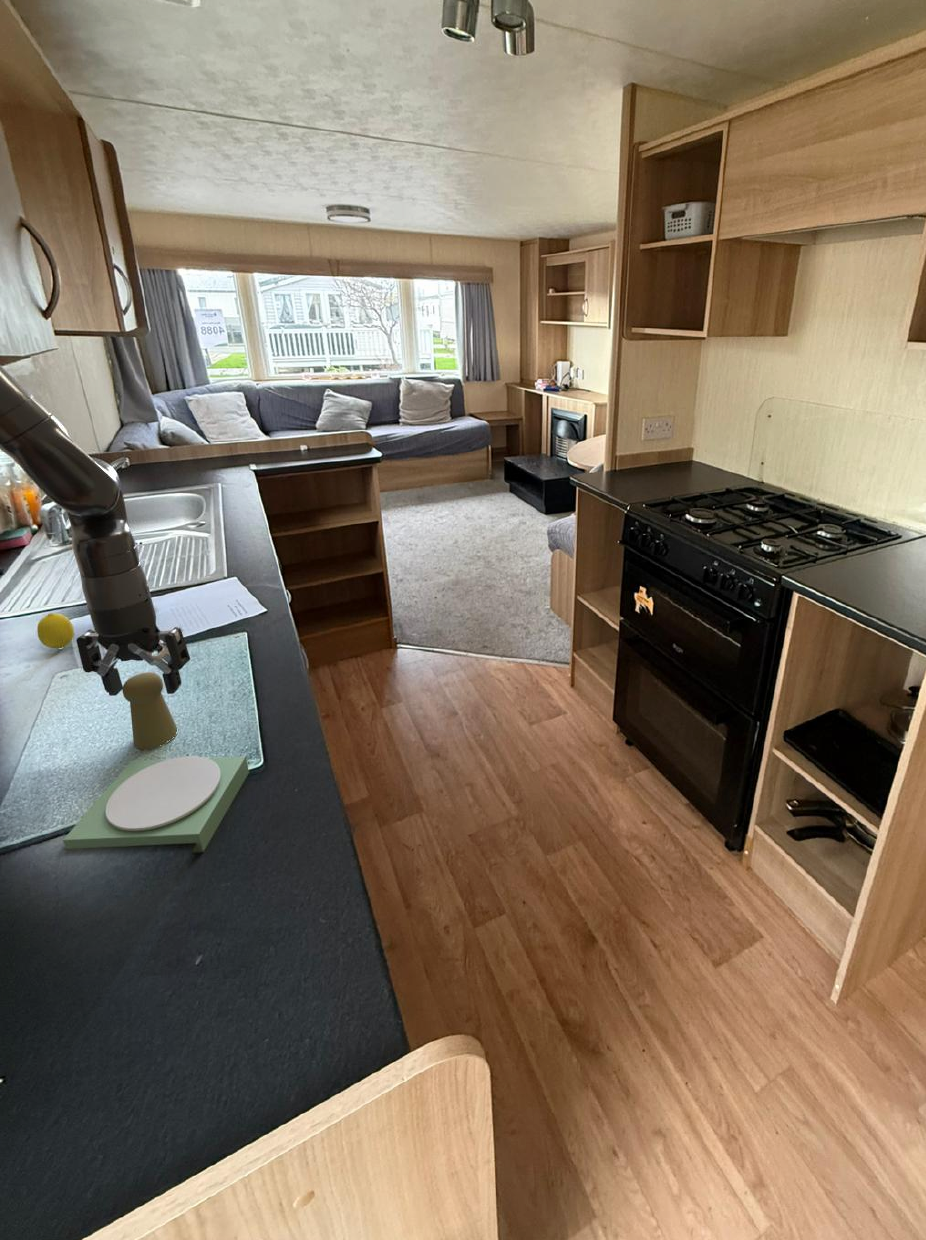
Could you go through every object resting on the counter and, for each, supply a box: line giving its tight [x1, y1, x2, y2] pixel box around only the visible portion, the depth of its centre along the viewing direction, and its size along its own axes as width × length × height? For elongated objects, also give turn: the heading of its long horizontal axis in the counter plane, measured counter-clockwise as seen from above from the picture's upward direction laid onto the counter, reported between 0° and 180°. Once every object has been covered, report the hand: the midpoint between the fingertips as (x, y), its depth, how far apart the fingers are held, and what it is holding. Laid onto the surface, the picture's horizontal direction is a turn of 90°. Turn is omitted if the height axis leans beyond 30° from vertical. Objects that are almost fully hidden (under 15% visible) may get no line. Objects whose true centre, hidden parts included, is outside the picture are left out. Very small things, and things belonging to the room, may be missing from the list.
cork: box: [121, 671, 178, 751], centre depth 92 cm, size 6×6×11 cm
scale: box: [62, 755, 250, 854], centre depth 79 cm, size 16×14×4 cm
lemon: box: [36, 612, 75, 649], centre depth 118 cm, size 6×6×8 cm
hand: (145, 691), depth 91 cm, fingers open, 8 cm apart
